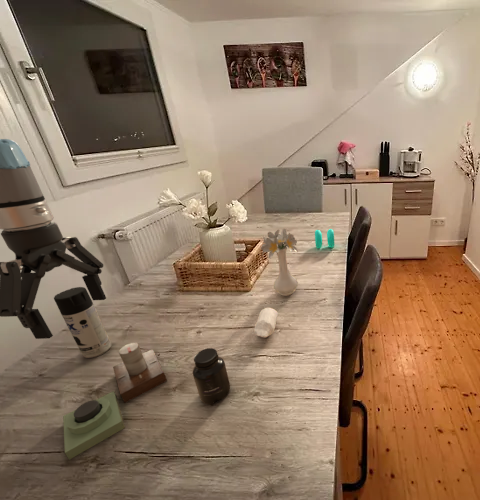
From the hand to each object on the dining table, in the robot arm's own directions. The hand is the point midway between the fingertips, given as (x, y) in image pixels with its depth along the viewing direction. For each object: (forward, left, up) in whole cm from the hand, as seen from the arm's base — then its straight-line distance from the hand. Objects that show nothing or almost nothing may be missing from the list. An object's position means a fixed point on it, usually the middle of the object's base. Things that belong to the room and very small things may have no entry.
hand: (75, 316), depth 62 cm
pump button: (+10, -4, -18) cm, 21 cm away
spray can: (-20, -1, -22) cm, 30 cm away
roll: (+10, +38, -22) cm, 45 cm away
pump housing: (+10, -4, -22) cm, 24 cm away
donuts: (-30, +96, -22) cm, 103 cm away
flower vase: (-7, +56, -22) cm, 61 cm away
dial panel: (+2, +6, -22) cm, 23 cm away
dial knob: (+2, +6, -19) cm, 20 cm away
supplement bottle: (+21, +18, -22) cm, 36 cm away
